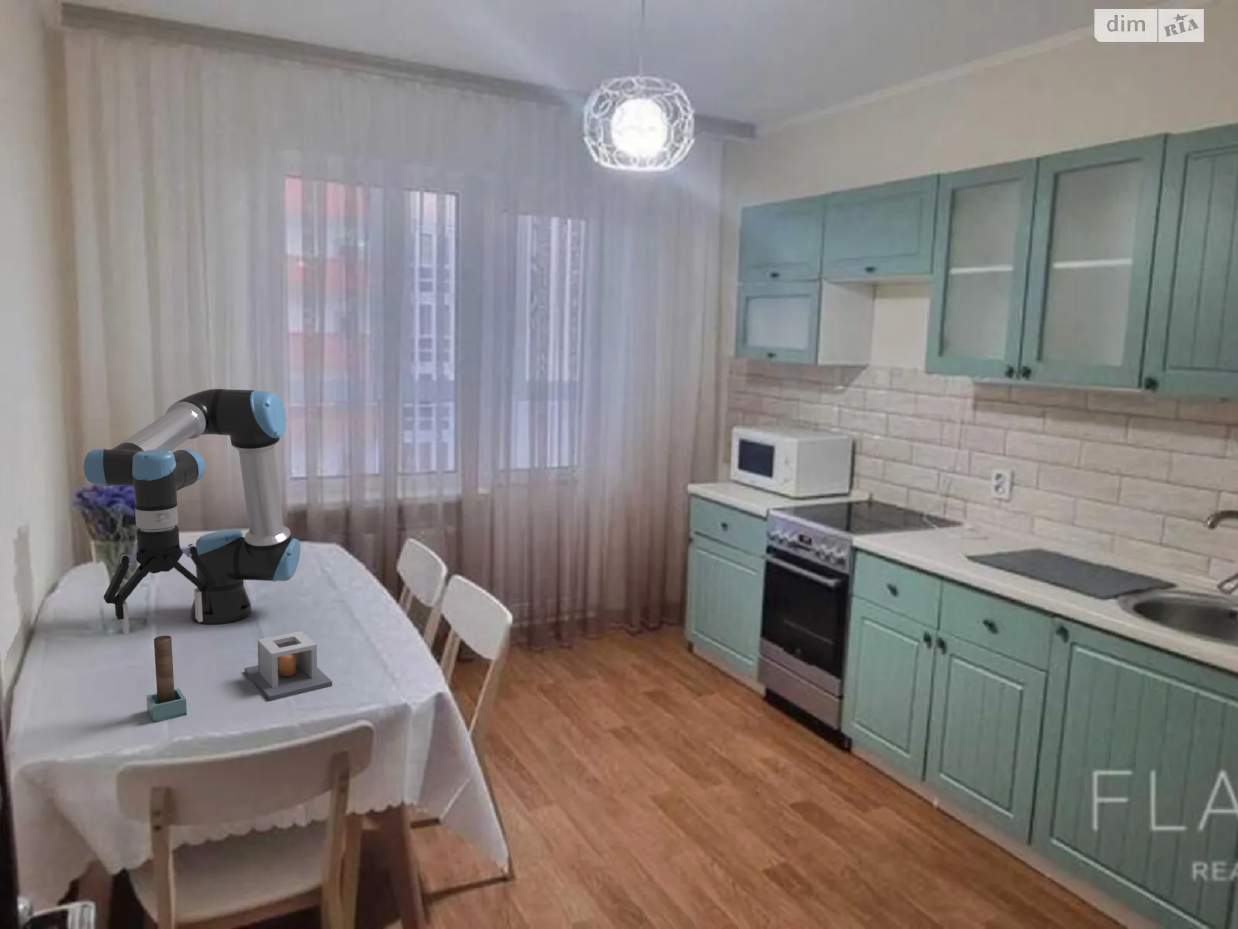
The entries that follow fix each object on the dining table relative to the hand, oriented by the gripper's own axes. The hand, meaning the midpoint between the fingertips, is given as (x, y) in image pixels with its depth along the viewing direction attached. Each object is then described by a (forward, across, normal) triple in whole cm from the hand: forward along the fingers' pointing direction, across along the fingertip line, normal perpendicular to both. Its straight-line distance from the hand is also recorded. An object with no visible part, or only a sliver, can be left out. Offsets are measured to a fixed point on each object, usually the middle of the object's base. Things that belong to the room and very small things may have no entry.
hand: (163, 626), depth 177 cm
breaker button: (+18, +26, +2) cm, 31 cm away
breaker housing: (+19, +26, +2) cm, 32 cm away
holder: (+19, 0, -1) cm, 19 cm away
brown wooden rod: (+18, 0, -1) cm, 18 cm away
